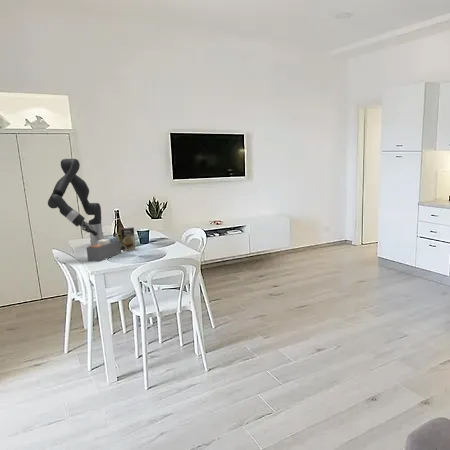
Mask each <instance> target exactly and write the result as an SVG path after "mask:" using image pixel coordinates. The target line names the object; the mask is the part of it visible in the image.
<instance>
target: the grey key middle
mask: <svg viewBox="0 0 450 450" xmlns="http://www.w3.org/2000/svg"><path fill="white" fill-rule="evenodd" d="M109 243H110V239H105V238H104V239H102V240H99V241H97V244H98V245H106V244H109Z"/></svg>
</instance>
